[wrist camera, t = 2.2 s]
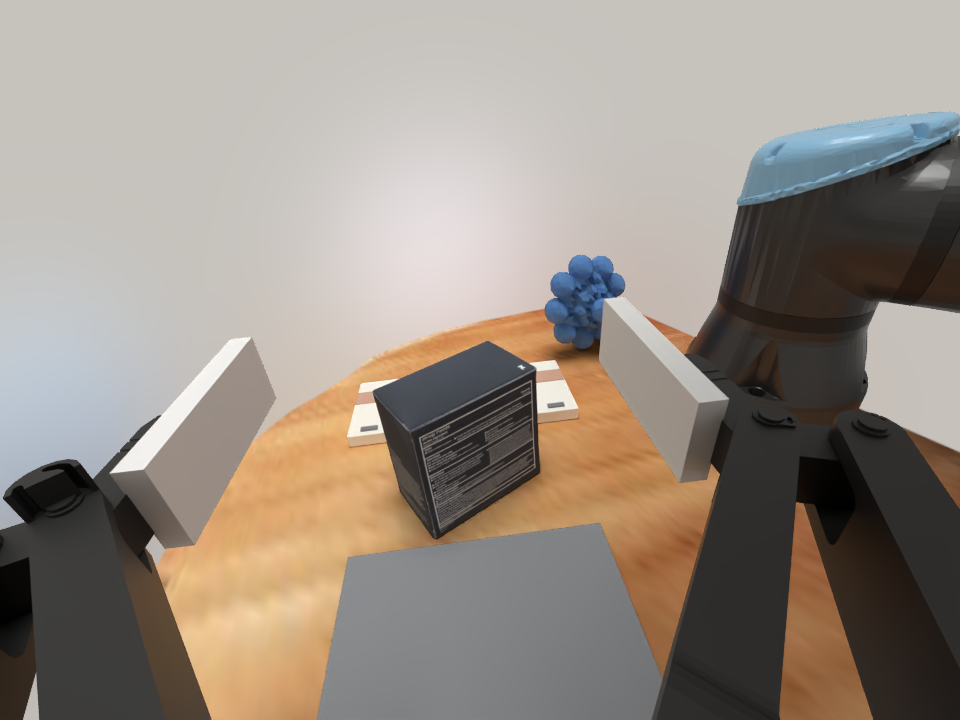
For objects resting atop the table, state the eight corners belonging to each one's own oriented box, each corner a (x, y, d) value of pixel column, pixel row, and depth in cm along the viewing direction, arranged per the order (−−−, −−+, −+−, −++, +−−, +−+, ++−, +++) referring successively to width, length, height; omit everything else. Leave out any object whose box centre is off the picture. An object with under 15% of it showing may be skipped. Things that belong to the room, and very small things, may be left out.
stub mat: (599, 526, 30) (600, 523, 30) (707, 799, 18) (709, 797, 18) (349, 560, 30) (347, 557, 29) (291, 867, 18) (288, 865, 17)
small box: (496, 432, 40) (488, 335, 34) (543, 472, 35) (542, 367, 30) (395, 488, 35) (368, 385, 30) (435, 543, 30) (410, 432, 25)
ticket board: (555, 368, 48) (555, 358, 48) (577, 418, 41) (578, 406, 40) (363, 392, 47) (360, 381, 47) (350, 447, 40) (346, 435, 39)
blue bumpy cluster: (570, 379, 46) (574, 275, 40) (534, 354, 51) (532, 259, 45) (645, 347, 51) (659, 249, 44) (605, 327, 56) (612, 236, 50)
